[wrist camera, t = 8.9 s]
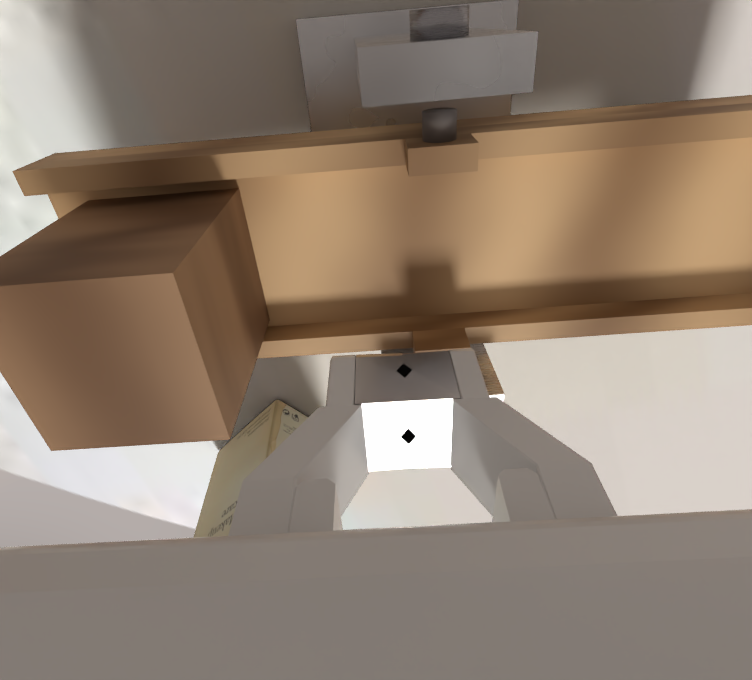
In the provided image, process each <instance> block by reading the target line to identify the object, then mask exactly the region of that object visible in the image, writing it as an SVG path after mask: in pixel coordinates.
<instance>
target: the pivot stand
mask: <svg viewBox="0 0 752 680" xmlns="http://www.w3.org/2000/svg"><path fill="white" fill-rule="evenodd" d="M518 2H519V0H502V1H491V2H480V3H469V4H459V5H448V6H437V7H426V8H415V9H404V10H393V11H382V12H371V13H360V14H349V15H338V16H327V17H316V18H305V19H296V25H297V32H298V39H299V46H300V53H301V60H302V68H303V75H304V82H305V89H306V96H307V103H308V110H309V118H310V125H311V132H316V131H328V130H340V129H352V128H364V127H376V126H388V125H400V124H412V123H422V111H424V110H427V109H433V108H455V109H457V120H459V119H471V118H483V117H495V116H507V115H510V112H511V99H512V94H517V93H528V92H533V84H534V73H535V63H536V52H537V41H538V31H523V30H517V16H518ZM470 347H471V348H472V349H473V350H474V351H475V354H476V357H477V360H478V363H479V366H480V369H481V372H482V375H483V378H484V381H485V384H486V388H487V391H488V394H489V397H497V398H499V399H500V400H502V401H503V402H504V392H503V390H502V387H501V385H500V382H499V380H498V378H497V375H496V373H495V371H494V368H493V366H492V363H491V361H490V359H489V356H488V354H487V352H486V349H485V347H484V344H483V343H479V344H470ZM394 353H402V354H404V353H414V350H413V348H405V349H390V350H381V354H394Z"/></svg>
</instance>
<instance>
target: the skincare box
mask: <svg viewBox="0 0 752 680" xmlns="http://www.w3.org/2000/svg"><path fill="white" fill-rule="evenodd" d="M307 418H308V417H306V416H305V415H303V414H302V413H300V412H298V411H297V410H295V409H293V408H292V407H290V406H288V405H287V404H285V403H283V402H282V401H280V400H276V401H274V402H273V403H272V404H271V405H270V406H268V407H267V408H266V409H265V410H264V411H263V412H262V413H260V414H259V415H258V416H257V417H256V418H255V419H254V420H252V421H251V422H250V423H249V424H248V425H247V426H246V427H245V428H244V429H243V430H241V431H240V432H239V433H238V434H237V435H236V436H235V437H234V438H233V439H232V440H231V441H229V442H228V443H227V444H226V445H225V446H224V447H223V448H222V449H221V450H220V451H219V452H218V455H217V458H216V462H215V465H214V468H213V472H212V475H211V479H210V482H209V486H208V489H207V492H206V496H205V499H204V503H203V506H202V510H201V513H200V517H199V520H198V524H197V527H196V531H195V534H194V538H196V537H215V536H228V534H229V531H230V527H231V523H232V519H233V516H234V512H235V508H236V504H237V501H238V497H239V493H240V490H241V486H242V482H243V480H244V479H245V478H246V477H247V476H248V475H249V474H250V473H251V472H253V471H254V470H255V469H256V468H257V467H258V466H259V465H260V464H261V463H262V462H263V461H264V460H265V459H266V458H267V457H268V456H269V455H270V454H271V453H272V452H273V451H274V450H275V449H276V448H277V447H278V446H279V445H280V444H281V443H282V442H283V441H284V440H285V439H287V438H288V437H289V436H290V435H291V434H292V433H293V432H294V431H295V430H296V429H297V428H298V427H299V426H300V425H301V424H302V423H303V422H304V421H305V420H306V419H307Z"/></svg>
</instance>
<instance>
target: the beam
mask: <svg viewBox="0 0 752 680" xmlns="http://www.w3.org/2000/svg"><path fill="white" fill-rule="evenodd" d="M13 173H14V175H15V177H16V180H17V182H18V184H19V186H20V188H21V190H22V192H23V194H24V196H30V195H43V194H48V196H49V198H50V201H51V203H52V205H53V207H54V209H55V212H56V214H57V216H58V218H59V219H60V218H61V217H63V216H64V215H66V214H67V213H69V212H71V211H72V210H74V209H75V208H77V207H78V206H80V205H81V204H83V203H85V202H86V201H88V200H99V199H111V198H124V197H136V196H148V195H160V194H173V193H185V192H197V191H209V190H222V189H234V188H239V190H240V194H241V199H242V203H243V207H244V211H245V216H246V220H247V224H248V229H249V233H250V237H251V241H252V246H253V250H254V254H255V258H256V263H257V267H258V271H259V276H260V280H261V284H262V288H263V293H264V297H265V301H266V305H267V310H268V314H269V318H270V321H269V324H268V327H267V330H266V333H265V336H264V339H263V342H262V345H261V348H260V351H259V354H258V357H257V358H272V357H287V356H301V355H316V354H331V353H346V352H360V351H375V350H390V349H405V348H413V350H414V353H420V352H435V351H448V350H453V349H464V348H471V347H470V344H479V343H493V342H508V341H523V340H538V339H552V338H567V337H582V336H597V335H611V334H626V333H641V332H656V331H670V330H685V329H700V328H715V327H729V326H744V325H752V95H747V96H735V97H723V98H711V99H699V100H687V101H675V102H663V103H651V104H639V105H627V106H615V107H603V108H591V109H579V110H567V111H555V112H543V113H531V114H519V115H507V116H495V117H483V118H471V119H459V120H457V109H455V108H433V109H427V110H424V111H422V123H412V124H400V125H388V126H376V127H364V128H352V129H340V130H328V131H316V132H304V133H292V134H280V135H268V136H256V137H244V138H232V139H220V140H208V141H196V142H184V143H172V144H160V145H149V146H137V147H125V148H113V149H101V150H89V151H77V152H65V153H55V154H52V155H50V156H47V157H45V158H43V159H40V160H38V161H36V162H33V163H31V164H29V165H26V166H24V167H22V168H19V169H17V170H15V171H13Z"/></svg>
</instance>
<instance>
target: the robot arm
mask: <svg viewBox="0 0 752 680" xmlns="http://www.w3.org/2000/svg"><path fill="white" fill-rule="evenodd" d="M431 467H451V470H452V471H453V472H454V473H455V474H456V475H457V477H458V478H459V479H460V480H461V481H462V482H463V483H464V484H465V486H466V487H467V488H468V489H469V490H470V491H471V492H472V494H473V495H474V496H475V497H476V498H477V499H478V500H479V501H480V503H481V504H482V505H483V506H484V507H485V508H486V509H487V511H488V512H489V513H490V514H491V515H492V516H493V519H492V522H489V523H470V524H450V525H431V526H411V527H392V528H372V529H353V530H343V528H342V522H341V516H342V514H343V513H344V511H345V510H346V508H347V507H348V505H349V504H350V502H351V500H352V499H353V497H354V496H355V494H356V493H357V491H358V490H359V488H360V486H361V485H362V483H363V482H364V480H365V479H366V477H367V476H368V474H369V471H379V470H391V469H404V468H431ZM0 680H752V509H747V510H727V511H708V512H689V513H670V514H651V515H631V516H617V514H616V512H615V510H614V508H613V506H612V504H611V502H610V500H609V498H608V496H607V494H606V492H605V490H604V488H603V486H602V484H601V482H600V480H599V478H598V476H597V474H596V472H595V469H594V467H593V465H592V463H590V462H589V461H587V460H586V459H585V458H583V457H582V456H580V455H579V454H577V453H576V452H575V451H573V450H572V449H570V448H569V447H567V446H566V445H565V444H563V443H562V442H560V441H559V440H557V439H556V438H555V437H553V436H552V435H550V434H549V433H547V432H546V431H545V430H543V429H542V428H540V427H539V426H537V425H536V424H535V423H533V422H532V421H530V420H529V419H527V418H526V417H525V416H523V415H522V414H520V413H519V412H517V411H516V410H514V409H513V408H512V407H510V406H509V405H507V404H506V403H504V402H503V401H502V400H500V399H499V398H497V397H489V394H488V391H487V388H486V384H485V381H484V378H483V375H482V372H481V369H480V366H479V363H478V360H477V357H476V354H475V351H474V350H473V349H472V348H464V349H453V350H448V351H435V352H420V353H404V354H402V353H394V354H366V355H356V356H355V355H345V356H332V358H331V361H330V371H329V381H328V390H327V400H326V407H318V408H317V409H316V410H315V411H314V412H313V413H312V414H311V415H310V416H309V417H308V418H307V419H306V420H305V421H304V422H303V423H302V424H301V425H300V426H299V427H298V428H297V429H296V430H295V431H294V432H293V433H292V434H291V435H290V436H289V437H288V438H287V439H285V440H284V441H283V442H282V443H281V444H280V445H279V446H278V447H277V448H276V449H275V450H274V451H273V452H272V453H271V454H270V455H269V456H268V457H267V458H266V459H265V460H264V461H263V462H262V463H261V464H260V465H259V466H258V467H257V468H256V469H255V470H254V471H253V472H251V473H250V474H249V475H248V476H247V477H246V478H245V479H244V480H243V482H242V486H241V490H240V493H239V497H238V501H237V504H236V508H235V512H234V516H233V519H232V523H231V527H230V531H229V534H228V536H215V537H196V538H176V539H158V540H137V541H117V542H98V543H78V544H58V545H39V546H19V547H0Z"/></svg>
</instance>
